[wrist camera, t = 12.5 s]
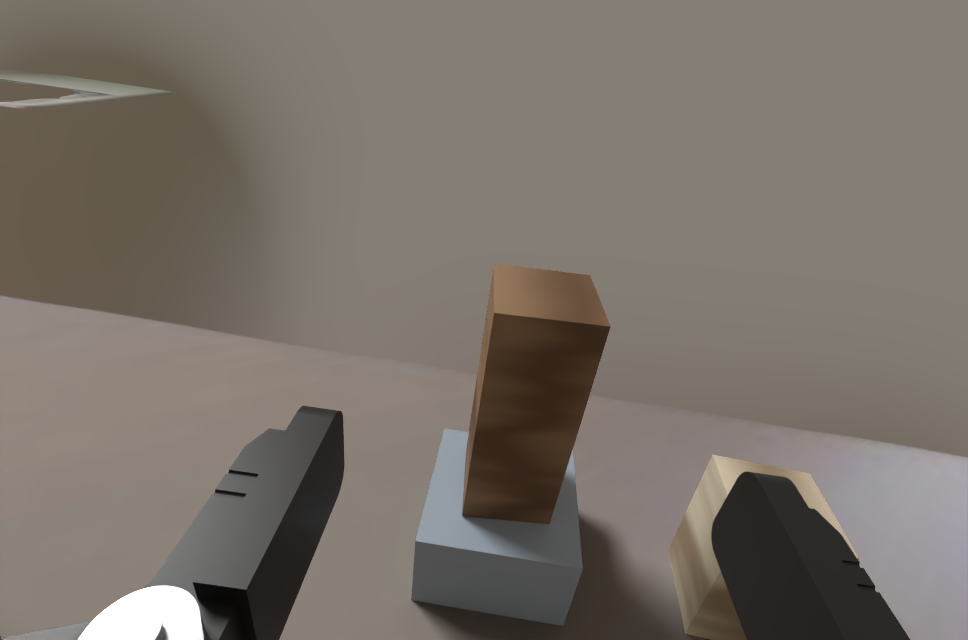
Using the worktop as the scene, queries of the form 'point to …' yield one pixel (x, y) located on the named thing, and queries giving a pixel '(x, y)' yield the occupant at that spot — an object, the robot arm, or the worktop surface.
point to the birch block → (694, 557)
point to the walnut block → (530, 390)
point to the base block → (495, 550)
